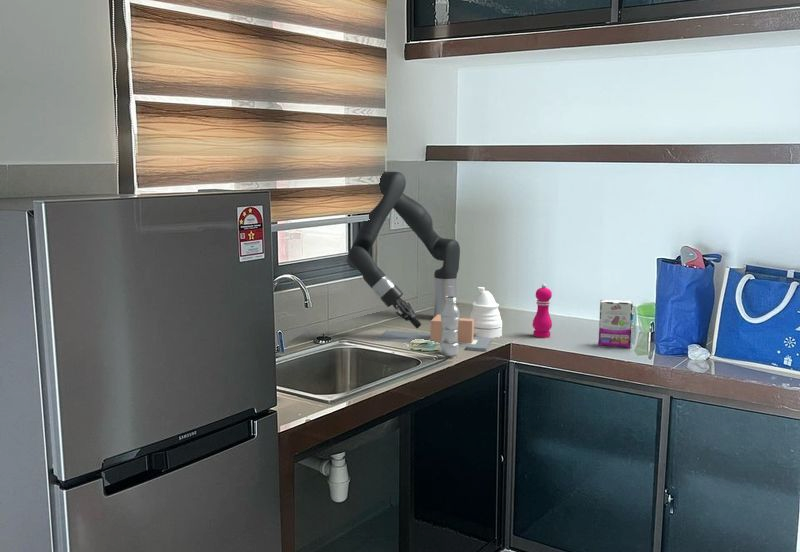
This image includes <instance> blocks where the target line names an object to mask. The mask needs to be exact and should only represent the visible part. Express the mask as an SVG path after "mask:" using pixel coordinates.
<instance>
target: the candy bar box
mask: <svg viewBox="0 0 800 552" xmlns="http://www.w3.org/2000/svg"><path fill="white" fill-rule="evenodd" d="M632 320H633V301H632V300H620V299H619V300H617V299H616V300H615V299H614V300H612V299H600V301H599V322H598V325H599V326H598V347H603V348H621V349H631V343H632V342H631V341H632V325H633V321H632Z"/></svg>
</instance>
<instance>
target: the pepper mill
mask: <svg viewBox="0 0 800 552" xmlns="http://www.w3.org/2000/svg"><path fill="white" fill-rule="evenodd" d="M552 296H553V293H552V290H551V289H549V288H548V287H547V284H546V283H542V284H541V287H540V288H538V289H537V290H536V292H535V298H536V299H537V300H536V302H535V303H536V305H537V310H536V312H535V313H536V314H535V316H534V318H533V320H532V328H533V329H534V330H533V333H532V334H533V335H534V336H533V337H535V336H536V337H535V338H539V337H542V338H541V339H545V338H546V339H548V338H550V337H551V331H550V330H551V329H552V327H553V321H552V317H551V316H550V310H549V307H550V305H551V301H550V300H551V298H552ZM547 337H548V338H547Z"/></svg>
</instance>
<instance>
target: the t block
mask: <svg viewBox="0 0 800 552" xmlns="http://www.w3.org/2000/svg"><path fill="white" fill-rule="evenodd" d="M430 334H431V338H430V341H435V342H438V343H441V336H442V322H441V315H439V314H438V315H437V316H435V317H434V318H433V317H432V319H431V320H430ZM474 335H475V334H474V319H469V318H463V317H459V323H458V342H459V343H472V342H473V336H474Z"/></svg>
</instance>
